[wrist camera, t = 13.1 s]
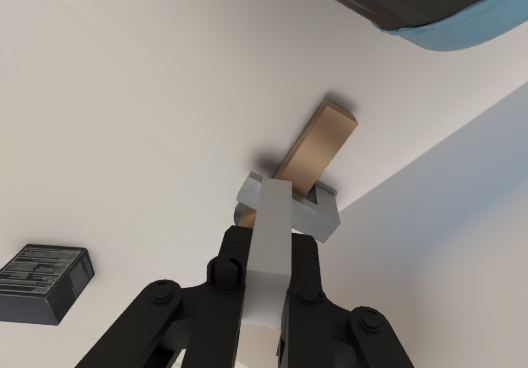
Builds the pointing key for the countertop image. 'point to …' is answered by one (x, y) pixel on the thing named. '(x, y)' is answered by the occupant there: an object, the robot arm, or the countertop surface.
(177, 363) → the plate stack
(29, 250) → the small box
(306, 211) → the keeper
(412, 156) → the countertop surface
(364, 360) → the robot arm
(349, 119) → the latch bar
